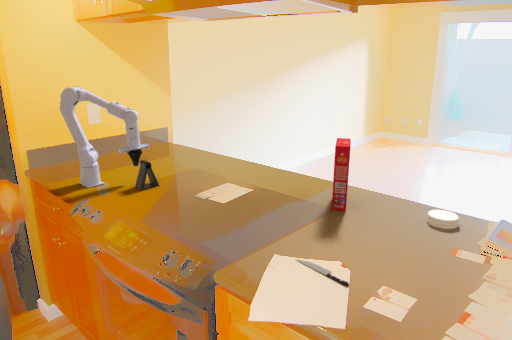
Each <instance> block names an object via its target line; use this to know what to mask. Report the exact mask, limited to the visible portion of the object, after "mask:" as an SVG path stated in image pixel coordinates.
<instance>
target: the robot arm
mask: <svg viewBox="0 0 512 340" xmlns="http://www.w3.org/2000/svg"><path fill="white" fill-rule="evenodd" d="M59 97H60V102H59V104H60V105H59V111H60V113H61V115H62V117H63V120H64V122H65V125H66V126H67V129H68V131H69V132H70V133H69V134H70V135H71V137H72V139H73V140H74V143H75V145H76V147H77V155H78V162H79V164H80V166H79V167H80V168H79V176H80V178H79V179H80V181H79V182H78V184H80V185H82V186H83V187H85V188H92V187H96V186H101V185H104V184H105V182H104V181H101V173H100V167H99V166H100V164H99V163H98V159H99V158H100V157H99V152H98V151H97V150H95V148H94V146H93V145H92V144H91V143H90V142H89V140H88V138H87V136H86V133H85V131H84V129H83V127H82V125H81V122H80V120H79V118H78V115H77V114H76V112H75V109H76V106H77V104H79V102H89V103H92V104H94V105H97V106H99V107H101V108H104V109H106V112H107V113H108V114H110V115H112V116H114V117H116V118H118V119H120V120H123V122H124V124H125V134H126V146H124V147H120V148H117V150H118V154H120V155H121V154H123V153H127V154H128V156H129V159H131V161H132V164H133V166H134V167H139V166H140V160H141V156H142V153H143V150H145V149H151V148H150V144H149V143H141V137H140V136H141V135H140V127H139V113H138V111H136V109H134V108H131V107H130V106H127V107H126V106H125V105H122V104H120V102H119V101H115V100H113V101H108V100H106V99H104V98H103V97H101V96H99V95H97V94H95V93H93V92H91V91H89V90H87V89H86V88H82V87H80V86H77V85H74V86H71V87H69V86H68V87H66V88H64V89H63V90H62V91H61V93H60V95H59Z"/></svg>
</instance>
